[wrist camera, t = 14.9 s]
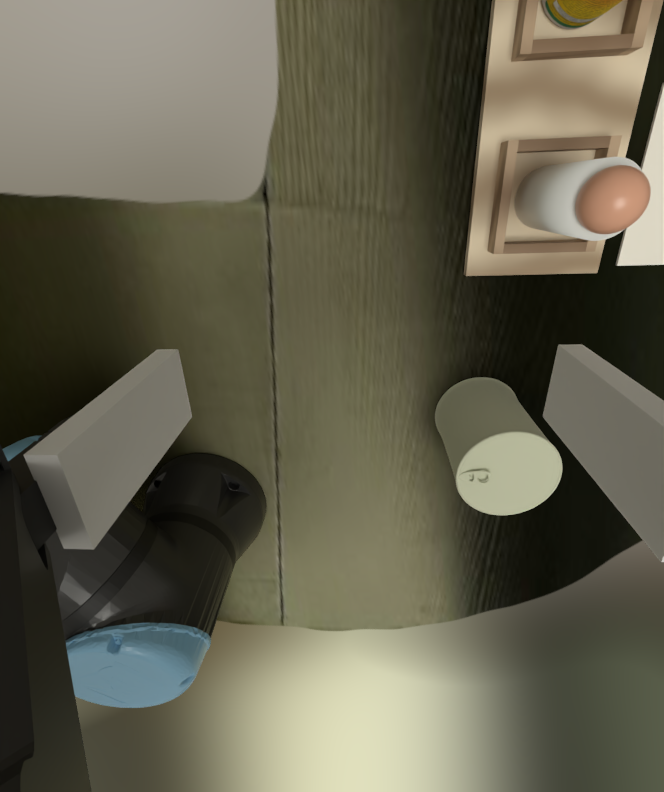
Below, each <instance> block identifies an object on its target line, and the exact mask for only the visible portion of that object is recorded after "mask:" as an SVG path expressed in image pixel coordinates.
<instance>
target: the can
mask: <svg viewBox="0 0 664 792" xmlns="http://www.w3.org/2000/svg"><path fill="white" fill-rule="evenodd" d="M435 423H436V427H437V429H438V431H439V433H440V435H441V437H442V440H443V443H444V446H445V449H446V452H447V455H448V458H449V461H450V464H451V467H452V470H453V473H454V477H455V480H456V486H457V489H458V492H459V494H460V495H461V497H462V498H463V500H464V501H465V502H466V503H467V504H469V505H470V506H471V507H473V508H475V509H476V510H478V511H481V512H484V513H487V514H492V515H512V514H517V513H521V512H524V511H527V510H530V509H532V508H534V507H536V506H537V505H539V504H541V503H542V502H543V501H545V500H546V499H547V498H548V497H549V496H550V495H551V494H552V493H553V492H554V490H555V489H556V487H557V485H558V483H559V481H560V479H561V475H562V461H561V457H560V455H559V453H558V451H557V449H556V448H555V447H554V446H553V445H552V444H551V443H550V442H549V441H548V439H547V438H546V437H545V436H544V434H543V433H542V432H541V430H540V429H539V428H538V427H537V425H536V424H535V423H534V421H533V420H532V419H531V417H530V416H529V415H528V414H527V412H526V411H525V410H524V408H523V407H522V405H521V404H520V403H519V401H518V400H517V397H516V395H515V393H514V392H513V391H512V389H511V388H510V387H509V386H507V385H506V384H505V383H503V382H501V381H499V380H496V379H493V378H488V377H475V378H470V379H466V380H463V381H461V382H459V383H457V384H455V385H454V386H452V387H451V388H450V389H448V390H447V391H446V392H445V393H444V395H443V396H442V397H441V399H440V400H439V402H438V404H437V407H436V411H435Z"/></svg>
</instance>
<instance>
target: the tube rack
mask: <svg viewBox="0 0 664 792" xmlns="http://www.w3.org/2000/svg"><path fill="white" fill-rule="evenodd" d="M662 3H663V0H623V1H621V2H620V3H618V4H617V5H616V6H614V7H613V8H611V9H610V10H609V11H607V12H606V13H604V14H603V15H602V16H600V17H599V18H597V19H596V20H594V21H593V22H591V23H590V24H588V25H586V26H584V27H581V28H577V29H564V28H561V27H559V26H557V25H556V24H554V23H553V22H552V21H551V20H550V19H549V17H548V16H547V15H546V13H545V11H544V8H543V4H542V0H492V5H491V15H490V25H489V34H488V44H487V54H486V63H485V73H484V82H483V92H482V102H481V111H480V121H479V131H478V140H477V150H476V160H475V169H474V179H473V189H472V198H471V208H470V218H469V227H468V237H467V246H466V256H465V266H464V275H465V276H489V275H532V274H576V273H597V272H598V268H599V264H600V260H601V256H602V252H603V247H604V243H605V240H600V241H589V240H584V239H580V238H575V237H570V236H566V235H561V234H557V233H552V232H547V231H543V230H538V229H533V228H530V227H527V226H526V225H524V224H523V223H522V222H521V221H520V220H519V219H518V217H517V215H516V212H515V205H514V202H515V196H516V192H517V190H518V188H519V186H520V184H521V182H522V181H523V180H524V179H525V177H526V176H527V175H529V174H530V173H531V172H532V171H534V170H536V169H538V168H540V167H543V166H548V165H556V164H563V163H571V162H578V161H586V160H593V159H601V158H608V157H624V158H625V156H626V152H627V148H628V144H629V140H630V136H631V132H632V127H633V123H634V119H635V115H636V111H637V107H638V103H639V98H640V94H641V90H642V86H643V82H644V78H645V74H646V69H647V65H648V61H649V57H650V53H651V49H652V45H653V41H654V36H655V32H656V28H657V24H658V20H659V16H660V12H661V7H662Z"/></svg>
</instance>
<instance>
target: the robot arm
mask: <svg viewBox="0 0 664 792" xmlns="http://www.w3.org/2000/svg"><path fill="white" fill-rule="evenodd" d="M191 418H192V413H191V408H190V404H189V399H188V394H187V389H186V384H185V380H184V375H183V370H182V365H181V360H180V355H179V351H178V349H157V350H156V351H155V352H154V353H152V354H151V355H150V356H149V357H147V358H146V359H145V360H143V361H142V362H141V363H140V364H138V365H137V366H136V367H135V368H133V369H132V370H131V371H129V372H128V373H127V374H126V375H124V376H123V377H122V378H121V379H119V380H118V381H117V382H115V383H114V384H113V385H112V386H110V387H109V388H108V389H106V390H105V391H104V392H103V393H101V394H100V395H99V396H98V397H96V398H95V399H94V400H92V401H91V402H90V403H89V404H87V405H86V406H85V407H84V408H82V409H81V410H80V411H78V412H77V413H76V414H74V415H72V416H70V417H68V418H66V419H64V420H62V421H60V422H59V423H58V424H56V425H55V426H54V427H53V428H51V429H50V430H49V431H48V433H45V434H43V435H38V436H31V437H27V438H25V439H22V440H20V441H18V442H16V443H14V444H12V445H10V446H8V447H6V448H4V449H2V447H1V445H0V792H91V786H90V780H89V774H88V769H87V763H86V757H85V751H84V746H83V740H82V734H81V729H80V723H79V718H78V711H77V706H76V700H75V696H76V697H78V698H81V699H84V700H86V701H89V702H92V703H96V704H101V705H105V706H113V707H122V708H123V707H124V708H125V707H126V708H139V707H140V708H141V707H149V706H155V705H159V704H162V703H165V702H168V701H170V700H172V699H174V698H176V697H178V696H179V695H181V694H182V693H183V692H184V691H186V690H187V689H188V688H189V687H190V685H191V684H192V682H193V681H194V679H195V677H196V675H197V673H198V670H199V668H200V666H201V663H202V661H203V658H204V656H205V654H206V651H207V650H208V649H209V647H210V644H211V635H212V632H213V630H214V626H215V624H216V620H217V617H218V614H219V611H220V608H221V605H222V602H223V599H224V596H225V593H226V590H227V587H228V584H229V581H230V578H231V574H232V571H233V568H234V565H235V563H236V561H237V560H238V559H239V558H240V557H241V556H242V554H243V553H244V552H245V551H246V549H247V548H248V547H249V546H250V544H251V543H252V542H253V541H254V540H255V538H256V537H257V536H258V534H259V532H260V530H261V527H262V524H263V521H264V517H265V513H266V500H265V496H264V493H263V491H262V489H261V487H260V485H259V484H258V482H257V481H256V479H255V478H254V477H253V476H252V475H251V474H250V473H249V472H248V471H247V470H245V469H244V468H243V467H241V466H240V465H238V464H236V463H235V462H232V461H230V460H228V459H226V458H223V457H220V456H216V455H211V454H188V455H183V456H180V457H177V458H175V459H173V460H171V461H169V462H168V463H166V464H165V465H164V466H163V467H162V468H161V469H160V470H159V472H158V473H157V474H156V476H155V477H154V479H153V480H152V482H151V483H150V485H149V487H148V490H147V493H146V497H145V502H144V507H143V513H142V512H141V511H140V510H139V509H138V508H136V507H135V506H134V505H133V504H132V503H131V502H130V500H131V499H132V497H133V496H134V495H135V493H136V492H137V491H138V489H139V488H140V487H141V485H142V484H143V483H144V481H145V480H146V479H147V477H148V476H149V475H150V473H151V472H152V470H153V469H154V468H155V466H156V465H157V464H158V462H159V461H160V460H161V458H162V457H163V456H164V454H165V453H166V452H167V450H168V449H169V448H170V446H171V445H172V443H173V442H174V441H175V439H176V438H177V437H178V435H179V434H180V433H181V431H182V430H183V429H184V427H185V426H186V425H187V423H188V422H189V420H190V419H191ZM543 418H544V419H545V420H546V421H547V422H548V424H549V425H550V426H551V427H552V429H553V430H554V431H555V432H556V434H557V435H558V436H559V437H560V439H561V440H562V441H563V442H564V443H565V445H566V446H567V447H568V448H569V450H570V451H571V452H572V453H573V455H574V456H575V457H576V458H577V459H578V461H579V462H580V463H581V464H582V466H583V467H584V468H585V469H586V471H587V472H588V473H589V474H590V475H591V477H592V478H593V479H594V480H595V482H596V483H597V484H598V485H599V487H600V488H601V489H602V490H603V491H604V493H605V494H606V495H607V496H608V498H609V499H610V500H611V501H612V503H613V504H614V505H615V506H616V508H617V509H618V510H619V511H620V512H621V514H622V515H623V516H624V517H625V519H626V520H627V521H628V522H629V524H630V525H631V526H632V527H633V528H634V530H635V531H636V532H637V533H638V535H639V536H640V537H641V538H642V540H643V541H644V542H645V543H646V544H647V546H648V547H649V548H650V549H651V551H652V552H653V553H654V554H655V556H656V557H657V558H658V559H659V560H660V562H664V401H663V400H662V399H660V398H659V397H657V396H656V395H654V394H653V393H652V392H650V391H649V390H647V389H646V388H644V387H643V386H641V385H640V384H639V383H637V382H636V381H634V380H633V379H631V378H630V377H628V376H627V375H625V374H624V373H623V372H621V371H620V370H618V369H617V368H615V367H614V366H612V365H611V364H610V363H608V362H607V361H605V360H604V359H602V358H601V357H599V356H598V355H597V354H595V353H594V352H592V351H591V350H589V349H588V348H586V347H585V346H584V345H558V349H557V353H556V358H555V363H554V367H553V372H552V376H551V381H550V386H549V390H548V395H547V399H546V404H545V409H544V413H543Z"/></svg>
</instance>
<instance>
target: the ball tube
mask: <svg viewBox="0 0 664 792" xmlns="http://www.w3.org/2000/svg"><path fill="white" fill-rule="evenodd" d="M650 196H651V187H650V183H649V181H648V178H647V177H646V175H645V174H644V173H643V172H642V170H641V168H640V167H639V166H638V165H637V164H636V163H635V162H633V161H632V160H630V159H627V158H624V157H608V158H601V159H593V160H586V161H578V162H571V163H563V164H556V165H548V166H543V167H540V168H538V169H536V170H534V171H532V172H531V173H530V174H529V175H527V176H526V177H525V179H524V180H523V181H522V182H521V184H520V186H519V188H518V190H517V192H516V196H515V202H514V205H515V212H516V215H517V217H518V219H519V220H520V221H521V222H522V223H523V224H524V225H526V226H527V227H530V228H533V229H538V230H543V231H547V232H552V233H557V234H561V235H566V236H570V237H575V238H580V239H584V240H589V241H600V240H605V239H608V238H611V237H613V236H615V235H617V234H619V233H620V232H622V231H623V230H624V229H626V228H628V227H629V226H631V225H632V224H633V223H635V222H636V221H637V220H638V219H639V218H640V217H641V216H642V214H643V213H644V211H645V210H646V208H647V206H648V203H649V200H650Z"/></svg>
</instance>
